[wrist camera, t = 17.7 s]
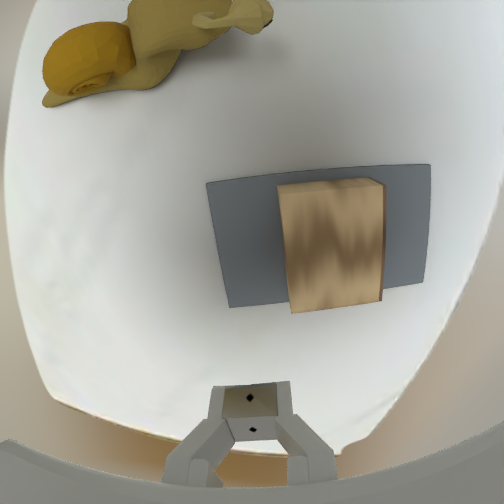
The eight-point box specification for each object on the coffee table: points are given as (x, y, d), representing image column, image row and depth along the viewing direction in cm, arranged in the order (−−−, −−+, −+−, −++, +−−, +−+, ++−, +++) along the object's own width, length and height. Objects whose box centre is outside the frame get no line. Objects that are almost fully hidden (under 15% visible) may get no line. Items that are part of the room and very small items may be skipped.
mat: (206, 183, 24) (205, 183, 24) (428, 164, 23) (430, 164, 22) (229, 305, 29) (229, 307, 29) (421, 280, 27) (422, 282, 27)
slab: (279, 194, 21) (386, 185, 20) (277, 185, 24) (370, 177, 23) (291, 313, 24) (381, 300, 24) (288, 292, 28) (369, 281, 27)
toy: (272, 62, 20) (279, 21, 11) (56, 139, 23) (-17, 154, 13) (249, -14, 17) (243, -78, 8) (43, 70, 20) (-27, 64, 10)
